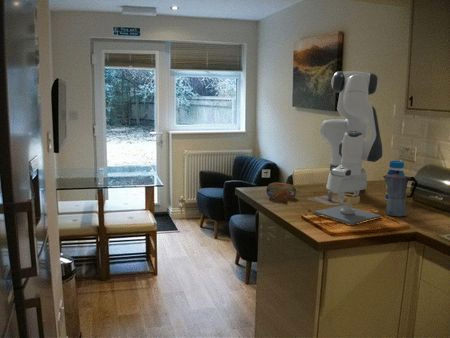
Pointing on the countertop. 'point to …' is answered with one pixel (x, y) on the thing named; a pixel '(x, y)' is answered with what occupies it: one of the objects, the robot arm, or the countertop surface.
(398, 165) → the beverage bottle
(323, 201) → the stand
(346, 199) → the tan square frame
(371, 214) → the plate
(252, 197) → the countertop surface
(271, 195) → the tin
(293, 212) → the countertop surface
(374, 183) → the countertop surface
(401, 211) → the moka pot
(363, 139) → the robot arm
